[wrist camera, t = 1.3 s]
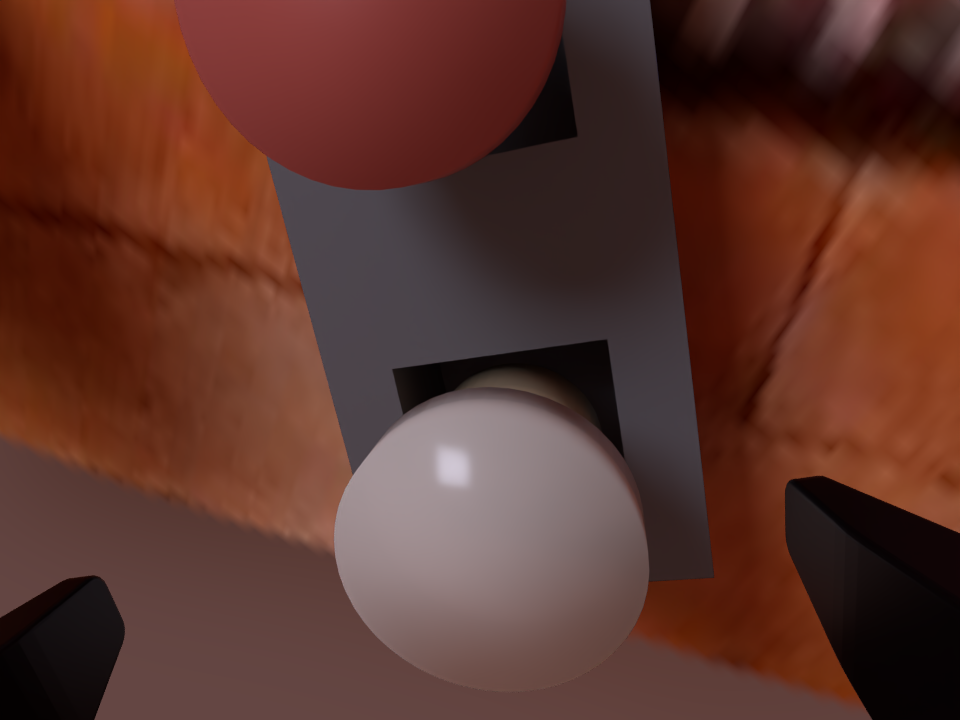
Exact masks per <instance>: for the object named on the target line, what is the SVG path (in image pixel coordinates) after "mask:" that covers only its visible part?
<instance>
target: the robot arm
mask: <svg viewBox="0 0 960 720" xmlns="http://www.w3.org/2000/svg"><path fill="white" fill-rule="evenodd" d="M785 531H786V542H787V547H788V550H789V553H790V556H791V558H792V560H793V562H794V564H795V567H796V569H797V571H798V573H799V575H800V578H801V580H802V582H803V584H804V586H805V589H806V591H807V593H808V595H809V597H810V600H811V602H812V604H813V606H814V608H815V611H816V613H817V615H818V617H819V619H820V622H821V624H822V626H823V628H824V630H825V633H826V635H827V637H828V639H829V641H830V644H831V646H832V648H833V650H834V652H835V654H836V656H837V658H838V660H839V662H840V665H841V667H842V668H843V670H844V672H845V674H846V676H847V677H848V679H849V681H850V683H851V684H852V686H853V688H854V690H855V691H856V693H857V695H858V696H859V698H860V700H861V701H862V703H863V705H864V706H865V708H866V710H867V712H868V713H869V715H870V717H871V718H872V720H960V533H958V532H956V531H953V530H951V529H948V528H946V527H944V526H941V525H939V524H937V523H934V522H932V521H929V520H927V519H925V518H922V517H920V516H918V515H915V514H913V513H910V512H908V511H906V510H903V509H901V508H898V507H896V506H894V505H891V504H889V503H887V502H884V501H882V500H879V499H877V498H875V497H872V496H870V495H868V494H865V493H863V492H860V491H858V490H856V489H853V488H851V487H849V486H846V485H844V484H841V483H839V482H837V481H834V480H832V479H830V478H827V477H824V476H813V477H806V478H799V479H792V480H790V481H789V482H788V483H787V486H786V489H785ZM124 635H125V627H124V622H123V620H122V617H121V615H120V613H119V611H118V609H117V607H116V604H115V602H114V600H113V598H112V596H111V593H110V591H109V589H108V587H107V585H106V583H105V581H104V580H103V579H101V578H100V577H98V576H94V575H92V576H85V577H77V578H69V579H66V580H64V581H62V582H60V583H58V584H57V585H55V586H53V587H52V588H50V589H48V590H46V591H45V592H43V593H41V594H40V595H38V596H36V597H35V598H33V599H31V600H29V601H28V602H26V603H25V604H23V605H21V606H19V607H18V608H16V609H14V610H13V611H11V612H9V613H8V614H6V615H4V616H2V617H1V618H0V720H94V719H95V716H96V713H97V711H98V708H99V705H100V703H101V700H102V697H103V695H104V692H105V689H106V687H107V684H108V681H109V679H110V676H111V673H112V671H113V668H114V665H115V663H116V660H117V657H118V655H119V652H120V649H121V647H122V644H123V640H124Z"/></svg>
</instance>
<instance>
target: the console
mask: <svg viewBox="0 0 960 720" xmlns="http://www.w3.org/2000/svg"><path fill="white" fill-rule="evenodd" d="M267 159H268V163H269V167H270V170H271V174H272V178H273V181H274V185H275V189H276V193H277V196H278V200H279V204H280V207H281V211H282V215H283V218H284V222H285V226H286V229H287V233H288V237H289V240H290V244H291V248H292V252H293V255H294V259H295V263H296V266H297V270H298V274H299V277H300V281H301V285H302V288H303V292H304V296H305V299H306V303H307V307H308V311H309V314H310V318H311V322H312V325H313V329H314V333H315V336H316V340H317V344H318V347H319V351H320V355H321V358H322V362H323V366H324V370H325V373H326V377H327V381H328V384H329V388H330V392H331V395H332V399H333V403H334V406H335V410H336V414H337V417H338V421H339V425H340V429H341V432H342V436H343V440H344V443H345V447H346V451H347V454H348V458H349V462H350V465H351V469H352V473H353V475H354V473H355V472H356V470H357V469H358V468H359V466H360V465H361V464H362V462H363V461H364V460H365V458H366V457H367V456H368V454H369V453H370V452H371V450H372V449H373V448H374V446H375V445H376V444H377V442H378V441H379V440H380V439H381V437H382V436H383V435H384V434H385V432H386V431H387V430H388V429H389V427H390V426H391V425H393V424H394V423H395V422H396V421H397V420H398V419H399V418H400V417H401V416H402V415H404V414H405V413H407V412H408V411H410V410H411V409H413V408H414V407H415V406H417V405H419V404H421V403H423V402H425V401H427V400H429V399H431V398H433V397H436V396H439V395H442V394H445V393H448V392H452V391H454V390H455V389H456V388H457V387H458V386H459V385H460V384H461V383H462V382H463V381H464V380H466V379H467V378H469V377H470V376H472V375H473V374H475V373H477V372H479V371H481V370H483V369H486V368H489V367H492V366H495V365H500V364H508V363H524V364H531V365H536V366H540V367H543V368H546V369H549V370H551V371H554V372H556V373H558V374H560V375H561V376H563V377H565V378H566V379H568V380H569V381H570V382H572V383H573V384H574V385H575V386H577V387H578V389H579V390H580V391H581V392H582V393H583V394H584V395H585V396H586V398H587V399H588V400H589V402H590V403H591V405H592V406H593V408H594V410H595V412H596V414H597V417H598V420H599V422H600V426H601V431H602V433H603V434H604V435H605V436H606V437H607V438H608V439H609V440H610V441H611V442H612V443H613V445H614V446H615V447H616V449H617V450H618V452H619V453H620V454H621V456H622V457H623V458H624V460H625V462H626V464H627V465H628V467H629V469H630V471H631V473H632V475H633V477H634V480H635V482H636V485H637V488H638V490H639V494H640V498H641V503H642V507H643V514H644V522H645V531H646V539H647V547H648V558H649V581H666V580H683V579H700V578H714V571H713V562H712V553H711V544H710V536H709V527H708V518H707V509H706V500H705V491H704V482H703V473H702V464H701V455H700V446H699V437H698V428H697V419H696V410H695V401H694V392H693V383H692V374H691V365H690V356H689V347H688V338H687V329H686V320H685V311H684V302H683V293H682V284H681V275H680V266H679V257H678V248H677V240H676V231H675V222H674V213H673V204H672V195H671V186H670V177H669V168H668V159H667V150H666V141H665V132H664V123H663V114H662V105H661V96H660V87H659V78H658V69H657V60H656V51H655V42H654V33H653V24H652V15H651V6H650V0H566V12H565V18H564V25H563V31H562V37H561V40H560V44H559V48H558V51H557V55H556V58H555V62H554V64H553V67H552V69H551V71H550V74H549V76H548V79H547V81H546V84H545V86H544V87H543V89H542V91H541V93H540V95H539V96H538V98H537V100H536V102H535V103H534V105H533V107H532V108H531V110H530V111H529V112H528V114H527V115H526V116H525V118H524V119H523V120H522V122H521V123H520V124H519V126H518V127H517V128H516V129H515V130H514V131H513V132H512V133H511V134H510V135H509V136H508V137H507V138H506V139H505V140H504V142H503V143H501V144H500V145H499V146H498V147H496V148H495V149H494V150H493V151H491V152H490V153H489V154H488V155H486V156H485V157H484V158H482V159H480V160H479V161H477V162H475V163H474V164H472V165H471V166H469V167H467V168H465V169H463V170H461V171H458V172H456V173H454V174H452V175H449V176H447V177H444V178H440V179H436V180H433V181H429V182H426V183H421V184H416V185H411V186H406V187H401V188H393V189H385V190H353V189H347V188H340V187H334V186H330V185H327V184H324V183H320V182H317V181H313V180H310V179H308V178H306V177H304V176H301V175H299V174H297V173H295V172H293V171H290V170H288V169H287V168H285V167H283V166H282V165H280V164H279V163H277V162H275V161H274V160H272V159H270V158H269V157H267ZM649 581H648V582H649Z"/></svg>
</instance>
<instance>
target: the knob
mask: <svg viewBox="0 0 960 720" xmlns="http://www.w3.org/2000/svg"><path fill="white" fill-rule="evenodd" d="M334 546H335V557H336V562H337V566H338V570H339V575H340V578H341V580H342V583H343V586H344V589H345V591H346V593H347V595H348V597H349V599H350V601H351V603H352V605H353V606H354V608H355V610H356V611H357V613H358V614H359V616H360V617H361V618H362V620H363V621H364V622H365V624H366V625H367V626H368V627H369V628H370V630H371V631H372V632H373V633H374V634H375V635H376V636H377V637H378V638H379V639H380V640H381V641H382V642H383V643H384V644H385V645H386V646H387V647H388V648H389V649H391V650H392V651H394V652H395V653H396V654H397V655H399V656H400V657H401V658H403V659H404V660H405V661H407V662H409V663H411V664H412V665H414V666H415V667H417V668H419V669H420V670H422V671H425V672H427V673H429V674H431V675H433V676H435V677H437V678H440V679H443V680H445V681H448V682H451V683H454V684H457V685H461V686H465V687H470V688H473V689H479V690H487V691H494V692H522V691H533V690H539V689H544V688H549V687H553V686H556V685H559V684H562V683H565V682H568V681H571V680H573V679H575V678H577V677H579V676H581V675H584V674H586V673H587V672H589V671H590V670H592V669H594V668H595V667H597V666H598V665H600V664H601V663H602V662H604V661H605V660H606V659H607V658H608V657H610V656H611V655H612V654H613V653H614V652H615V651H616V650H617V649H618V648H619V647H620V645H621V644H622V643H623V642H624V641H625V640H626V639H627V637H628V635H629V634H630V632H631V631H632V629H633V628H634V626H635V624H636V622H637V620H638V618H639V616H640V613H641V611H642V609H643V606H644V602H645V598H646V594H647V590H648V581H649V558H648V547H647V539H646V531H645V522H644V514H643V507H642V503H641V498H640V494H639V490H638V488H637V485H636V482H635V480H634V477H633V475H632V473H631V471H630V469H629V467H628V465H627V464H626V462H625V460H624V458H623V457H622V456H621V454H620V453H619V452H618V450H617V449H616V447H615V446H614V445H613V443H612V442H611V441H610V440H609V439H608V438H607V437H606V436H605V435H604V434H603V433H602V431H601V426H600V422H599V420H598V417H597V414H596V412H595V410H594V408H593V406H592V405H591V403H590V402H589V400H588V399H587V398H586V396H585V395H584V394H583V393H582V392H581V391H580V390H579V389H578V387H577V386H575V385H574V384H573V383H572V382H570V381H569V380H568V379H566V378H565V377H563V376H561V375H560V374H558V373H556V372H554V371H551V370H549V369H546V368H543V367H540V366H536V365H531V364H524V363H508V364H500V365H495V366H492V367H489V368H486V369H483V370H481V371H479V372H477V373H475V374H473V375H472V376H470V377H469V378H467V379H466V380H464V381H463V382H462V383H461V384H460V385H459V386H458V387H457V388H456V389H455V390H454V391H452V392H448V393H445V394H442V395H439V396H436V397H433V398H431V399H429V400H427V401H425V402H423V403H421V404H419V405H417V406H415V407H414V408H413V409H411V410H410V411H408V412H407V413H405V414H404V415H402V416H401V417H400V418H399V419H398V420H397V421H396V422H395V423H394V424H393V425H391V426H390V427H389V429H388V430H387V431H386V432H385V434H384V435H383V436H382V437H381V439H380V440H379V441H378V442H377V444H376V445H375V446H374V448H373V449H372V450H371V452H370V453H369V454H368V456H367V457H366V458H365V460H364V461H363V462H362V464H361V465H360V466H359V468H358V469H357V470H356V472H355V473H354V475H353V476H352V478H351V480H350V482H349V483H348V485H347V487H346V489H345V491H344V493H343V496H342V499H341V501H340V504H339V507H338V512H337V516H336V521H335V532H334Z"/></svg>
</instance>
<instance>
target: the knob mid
mask: <svg viewBox="0 0 960 720" xmlns="http://www.w3.org/2000/svg"><path fill="white" fill-rule="evenodd" d="M174 1H175V6H176V11H177V15H178V19H179V23H180V28H181V31H182V34H183V37H184V40H185V43H186V46H187V49H188V51H189V54H190V57H191V59H192V61H193V63H194V65H195V68H196V70H197V72H198V74H199V76H200V78H201V80H202V82H203V84H204V85H205V87H206V89H207V90H208V92H209V93H210V95H211V97H212V98H213V100H214V102H215V103H216V105H217V106H218V107H219V108H220V110H221V111H222V112H223V114H224V115H225V116H226V117H227V119H228V120H229V121H230V123H231V124H232V125H233V126H234V127H235V128H236V129H237V130H238V131H239V132H240V133H241V134H242V135H243V136H244V137H245V138H246V139H247V140H248V141H249V142H250V143H251V144H252V145H254V146H255V147H256V148H257V149H259V150H260V151H261V152H262V153H264V154H265V155H266V156H267V157H269V158H270V159H272V160H274V161H275V162H277V163H279V164H280V165H282V166H283V167H285V168H287V169H288V170H290V171H293V172H295V173H297V174H299V175H301V176H304V177H306V178H308V179H310V180H313V181H317V182H320V183H324V184H327V185H330V186H334V187H340V188H347V189H353V190H385V189H393V188H401V187H406V186H411V185H416V184H421V183H426V182H429V181H433V180H436V179H440V178H444V177H447V176H449V175H452V174H454V173H456V172H458V171H461V170H463V169H465V168H467V167H469V166H471V165H472V164H474V163H475V162H477V161H479V160H480V159H482V158H484V157H485V156H486V155H488V154H489V153H490V152H491V151H493V150H494V149H495V148H496V147H498V146H499V145H500V144H501V143H503V142H504V140H505V139H506V138H507V137H508V136H509V135H510V134H511V133H512V132H513V131H514V130H515V129H516V128H517V127H518V126H519V124H520V123H521V122H522V120H523V119H524V118H525V116H526V115H527V114H528V112H529V111H530V110H531V108H532V107H533V105H534V103H535V102H536V100H537V98H538V96H539V95H540V93H541V91H542V89H543V87H544V86H545V84H546V81H547V79H548V76H549V74H550V71H551V69H552V67H553V64H554V62H555V58H556V55H557V51H558V48H559V44H560V40H561V37H562V31H563V25H564V18H565V12H566V0H174Z"/></svg>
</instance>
